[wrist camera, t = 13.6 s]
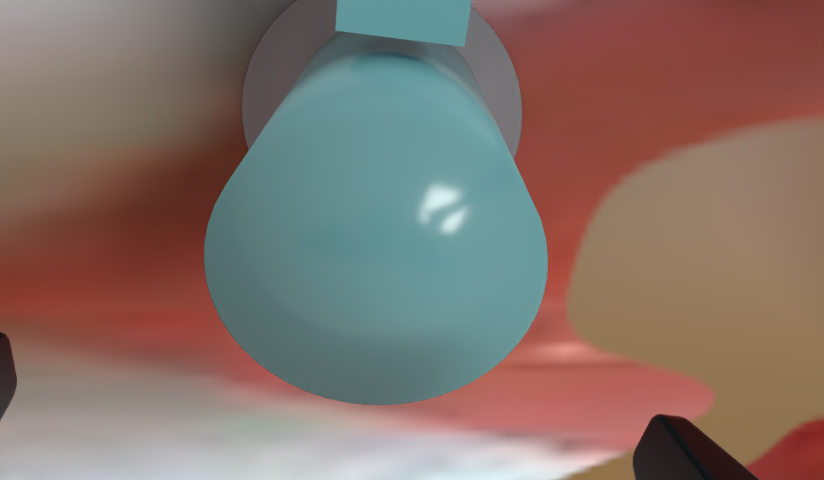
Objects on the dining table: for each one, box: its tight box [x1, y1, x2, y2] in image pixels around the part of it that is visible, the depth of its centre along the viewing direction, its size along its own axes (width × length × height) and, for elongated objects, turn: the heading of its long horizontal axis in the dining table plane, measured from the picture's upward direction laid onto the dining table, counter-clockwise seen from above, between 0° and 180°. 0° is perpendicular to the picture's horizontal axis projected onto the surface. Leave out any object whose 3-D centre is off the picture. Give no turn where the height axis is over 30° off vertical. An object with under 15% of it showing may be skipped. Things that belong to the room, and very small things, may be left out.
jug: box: [204, 0, 548, 405], centre depth 13 cm, size 12×6×10 cm, turn 173°
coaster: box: [242, 0, 522, 160], centre depth 19 cm, size 9×9×1 cm
